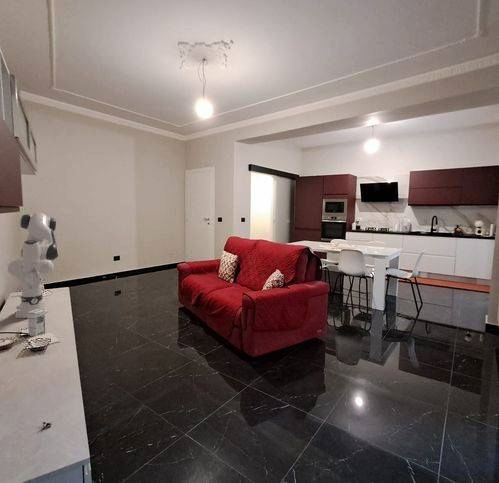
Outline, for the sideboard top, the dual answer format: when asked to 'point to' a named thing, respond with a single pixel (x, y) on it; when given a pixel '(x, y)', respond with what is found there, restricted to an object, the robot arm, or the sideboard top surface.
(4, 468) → the sideboard top surface
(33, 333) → the syrup box
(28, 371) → the sideboard top surface
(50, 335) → the mat
